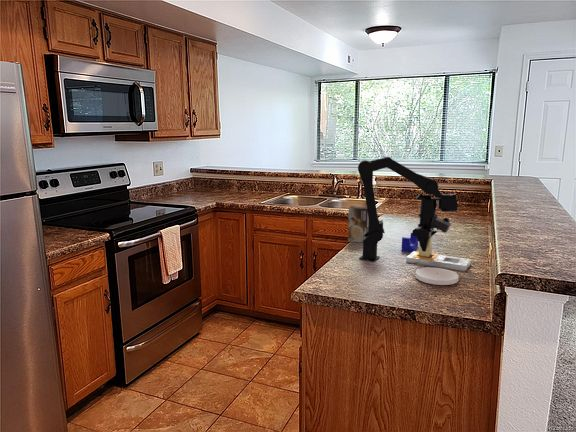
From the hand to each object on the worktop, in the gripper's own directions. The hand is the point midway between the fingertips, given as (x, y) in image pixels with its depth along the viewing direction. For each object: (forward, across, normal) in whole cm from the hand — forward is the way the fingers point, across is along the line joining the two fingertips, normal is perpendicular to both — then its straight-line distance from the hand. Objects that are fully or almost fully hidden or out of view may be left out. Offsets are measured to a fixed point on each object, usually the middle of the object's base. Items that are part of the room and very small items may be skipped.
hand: (425, 250), depth 170 cm
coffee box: (+5, +17, +35) cm, 39 cm away
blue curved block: (+5, +16, +10) cm, 19 cm away
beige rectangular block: (+3, 0, 0) cm, 3 cm away
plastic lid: (+5, -20, -9) cm, 23 cm away
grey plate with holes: (+4, 0, -5) cm, 7 cm away
